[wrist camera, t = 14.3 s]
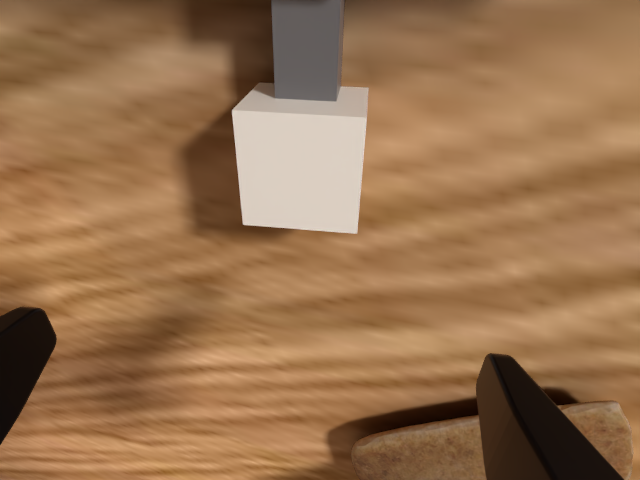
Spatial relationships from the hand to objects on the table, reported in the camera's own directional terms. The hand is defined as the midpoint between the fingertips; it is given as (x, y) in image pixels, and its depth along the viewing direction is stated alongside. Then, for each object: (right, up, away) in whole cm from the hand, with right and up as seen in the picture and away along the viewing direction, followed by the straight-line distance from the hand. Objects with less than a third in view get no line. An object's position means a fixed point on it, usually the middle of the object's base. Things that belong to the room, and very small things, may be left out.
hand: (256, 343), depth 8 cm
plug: (+1, +9, +6) cm, 11 cm away
